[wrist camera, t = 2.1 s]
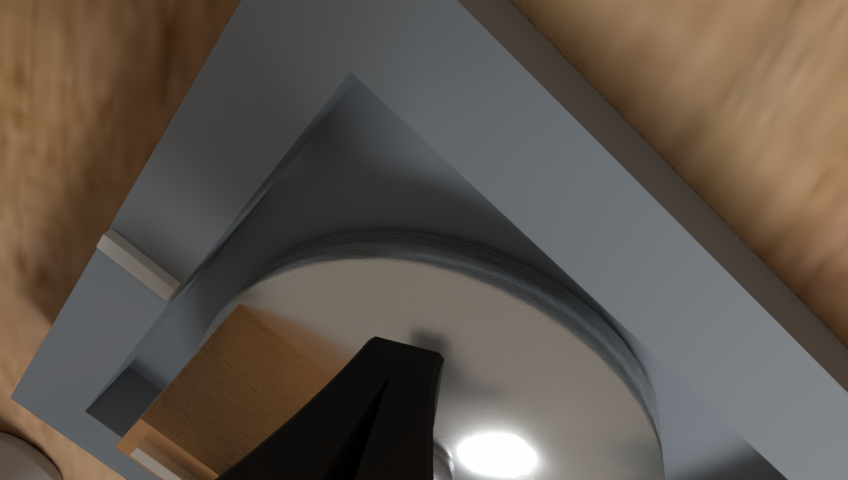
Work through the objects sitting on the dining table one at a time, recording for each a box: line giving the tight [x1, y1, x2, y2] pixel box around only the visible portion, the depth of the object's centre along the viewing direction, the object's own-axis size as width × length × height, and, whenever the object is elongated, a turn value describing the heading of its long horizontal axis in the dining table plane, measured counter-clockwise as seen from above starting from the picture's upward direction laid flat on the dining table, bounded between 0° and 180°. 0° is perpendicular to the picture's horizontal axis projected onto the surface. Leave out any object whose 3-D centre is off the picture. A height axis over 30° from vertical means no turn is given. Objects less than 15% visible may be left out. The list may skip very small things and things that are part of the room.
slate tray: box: [10, 0, 848, 480], centre depth 15 cm, size 18×18×3 cm
